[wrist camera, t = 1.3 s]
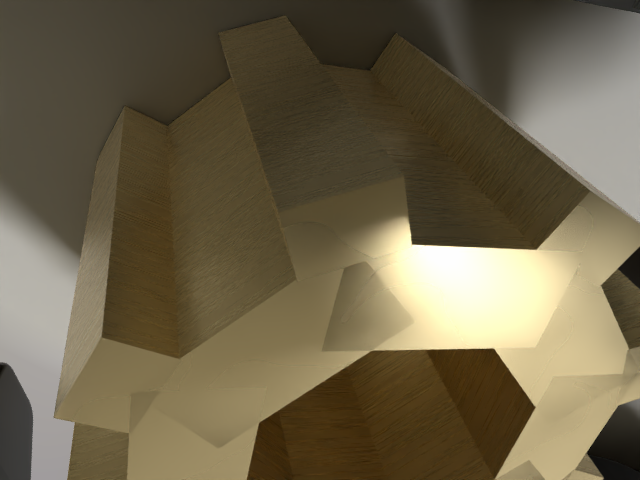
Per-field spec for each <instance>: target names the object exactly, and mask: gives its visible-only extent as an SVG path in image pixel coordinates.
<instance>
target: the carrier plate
mask: <svg viewBox="0 0 640 480" xmlns="http://www.w3.org/2000/svg"><path fill="white" fill-rule="evenodd" d="M575 1H580V2H585V3H590V4H595V5H600V6H605V7H610V8H615V9H620V10H626V11H631V12H636V13H640V10H637V9H634V8H632V6H633V4H634V2H635V0H575Z"/></svg>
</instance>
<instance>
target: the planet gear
mask: <svg viewBox="0 0 640 480" xmlns="http://www.w3.org/2000/svg"><path fill="white" fill-rule="evenodd" d="M218 34H219V38H220V41H221V44H222V48H223V51H224V55H225V58H226V62H227V65H228V69H229V72H230V76H231V78H229V79H228V80H227V81H225V82H224V83H223V84H221V85H220V86H219V87H217V88H216V89H215V90H214V91H212V92H211V93H210V94H208V95H207V96H206V97H204V98H203V99H202V100H200V101H199V102H198V103H196V104H195V105H194V106H193V107H191V108H190V109H189V110H187V111H186V112H185V113H183V114H182V115H181V116H179V117H178V118H177V119H176V120H174V121H173V122H172V123H170V124H169V125H168V126H166V125H164V124H162V123H160V122H158V121H156V120H154V119H152V118H150V117H148V116H146V115H144V114H142V113H140V112H137V111H135V110H133V109H131V108H129V107H127V106H124V108H123V110H122V112H121V114H120V116H119V118H118V120H117V122H116V124H115V126H114V128H113V130H112V132H111V134H110V136H109V138H108V139H107V141H106V143H105V145H104V147H103V149H102V151H101V153H100V155H99V157H98V159H97V164H96V170H95V176H94V182H93V188H92V193H91V199H90V205H89V211H88V217H87V223H86V229H85V235H84V241H83V247H82V253H81V259H80V264H79V270H78V276H77V282H76V288H75V294H74V300H73V306H72V312H71V318H70V324H69V329H68V335H67V341H66V347H65V353H64V359H63V365H62V371H61V377H60V383H59V389H58V395H57V400H56V407H55V412H54V418H56V419H61V420H66V421H71V422H75V425H74V433H73V440H72V448H71V456H70V463H69V471H68V478H67V480H603V479H604V477H603V476H602V474H601V473H600V472H599V470H598V469H597V467H596V466H595V464H594V463H593V462H592V460H591V459H590V457H589V456H588V455H587V453H586V452H587V451H588V449H589V448H590V447H591V445H592V444H593V442H594V441H595V439H596V438H597V436H598V435H599V433H600V432H601V430H602V429H603V427H604V426H605V424H606V423H607V421H608V420H609V418H610V417H611V415H612V414H613V413H614V411H615V410H616V408H617V407H618V405H621V404H624V403H627V402H630V401H633V400H636V399H639V398H640V289H639V288H638V287H637V286H636V285H634V284H633V283H632V282H631V281H630V280H629V279H628V278H627V277H626V276H625V275H624V274H623V273H622V272H621V271H619V270H618V268H619V267H620V266H621V265H622V264H623V263H624V262H625V261H626V260H627V259H628V258H629V257H630V256H631V255H632V254H633V253H634V252H635V251H636V250H637V249H638V248H639V247H640V222H638V221H637V220H636V219H635V218H633V217H632V216H631V215H630V214H628V213H627V212H626V211H624V210H623V209H622V208H621V207H619V206H618V205H617V204H616V203H614V202H613V201H612V200H611V199H609V198H608V197H607V196H606V195H604V194H603V193H602V192H601V191H599V190H598V189H597V188H595V187H594V186H593V185H592V184H590V183H589V182H588V181H587V180H585V179H584V178H583V177H582V176H580V175H579V174H578V173H577V172H575V171H574V170H573V169H572V168H570V167H569V166H568V165H567V164H565V163H564V162H563V161H561V160H560V159H559V158H558V157H556V156H555V155H554V154H553V153H551V152H550V151H549V150H548V149H546V148H545V147H544V146H543V145H541V144H540V143H539V142H538V141H536V140H535V139H534V138H533V137H531V136H530V135H529V134H527V133H526V132H525V131H524V130H522V129H521V128H520V127H519V126H517V125H516V124H515V123H514V122H512V121H511V120H510V119H509V118H507V117H506V116H505V115H504V114H502V113H501V112H500V111H499V110H497V109H496V108H495V107H493V106H492V105H491V104H490V103H488V102H487V101H486V100H485V99H483V98H482V97H481V96H480V95H478V94H477V93H476V92H475V91H473V90H472V89H471V88H470V87H468V86H467V85H466V84H465V83H463V82H462V81H461V80H459V79H458V78H457V77H456V76H454V75H453V74H452V73H451V72H449V71H448V70H447V69H446V68H444V67H443V66H442V65H440V64H439V63H438V62H436V61H435V60H433V59H432V58H431V57H429V56H428V55H426V54H425V53H423V52H422V51H421V50H419V49H418V48H416V47H415V46H414V45H412V44H411V43H409V42H408V41H406V40H405V39H404V38H402V37H401V36H399V35H398V34H397V33H395V35H394V36H393V38H392V39H391V40H390V42H389V43H388V45H387V46H386V48H385V49H384V51H383V52H382V54H381V55H380V57H379V58H378V60H377V61H376V63H375V64H374V66H373V67H372V69H371V70H362V69H355V68H348V67H340V66H333V65H326V64H321V63H320V62H319V60H318V59H317V58H316V56H315V55H314V54H313V52H312V51H311V50H310V48H309V47H308V45H307V44H306V43H305V41H304V40H303V39H302V37H301V36H300V35H299V33H298V32H297V31H296V29H295V28H294V27H293V25H292V24H291V23H290V21H289V20H288V18H287V17H286V16H285V15H284V16H280V17H276V18H272V19H268V20H265V21H261V22H257V23H253V24H249V25H245V26H242V27H238V28H234V29H230V30H226V31H222V32H219V33H218Z"/></svg>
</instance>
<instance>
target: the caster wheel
mask: <svg viewBox="0 0 640 480" xmlns="http://www.w3.org/2000/svg"><path fill="white" fill-rule="evenodd" d="M588 456H589V457H590V459H591V460H592V462H593V463H594V464H595V466H596V467H597V469H598V470H599V472H600V473H601V474H602V476H603V477H604V479H603V480H640V472H638V471H636V470H634V469H632V468H630V467H628V466H625V465H623V464H620V463H618V462H615V461H612V460H610V459H605V458H601V457H596V456H591V455H588Z"/></svg>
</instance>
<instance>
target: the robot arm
mask: <svg viewBox="0 0 640 480" xmlns="http://www.w3.org/2000/svg"><path fill="white" fill-rule="evenodd" d="M618 270H619V271H621V272H622V273H623V274H624V275H625V276H626V277H627V278H628V279H629V280H630V281H631V282H632V283H633V284H634V285H636V286H637V287H638V288H639V289H640V247H639V248H638V249H637V250H636V251H635V252H634V253H633V254H632V255H631V256H630V257H629V258H628V259H627V260H626V261H625V262H624V263H623V264H622V265H621V266H620V267H619V268H618ZM32 432H33V413H32V407H31V404H30V402H29V399H28V398H27V396H26V394H25V392H24V390H23V388H22V386H21V384H20V382H19V381H18V379H17V377H16V375H15V373H14V371H13V369H12V368H11V367H10V366H9V365H8V364H7V363H0V480H31V458H32V457H31V456H32Z"/></svg>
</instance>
